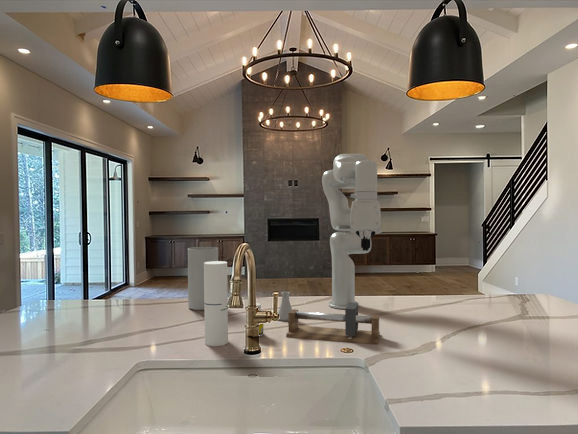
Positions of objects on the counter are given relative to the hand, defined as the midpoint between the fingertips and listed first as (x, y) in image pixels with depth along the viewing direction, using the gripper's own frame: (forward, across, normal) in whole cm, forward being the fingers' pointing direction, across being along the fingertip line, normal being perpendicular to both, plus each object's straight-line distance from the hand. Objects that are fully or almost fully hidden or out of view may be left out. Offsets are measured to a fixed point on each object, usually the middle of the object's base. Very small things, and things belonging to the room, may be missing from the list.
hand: (365, 250), depth 143 cm
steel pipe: (+22, -9, -12) cm, 27 cm away
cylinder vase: (+28, -70, +10) cm, 76 cm away
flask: (+28, -30, +3) cm, 41 cm away
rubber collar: (+25, -3, -12) cm, 28 cm away
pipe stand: (+27, -9, -12) cm, 31 cm away
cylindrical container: (+27, -42, -30) cm, 58 cm away
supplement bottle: (+27, -33, -19) cm, 47 cm away
